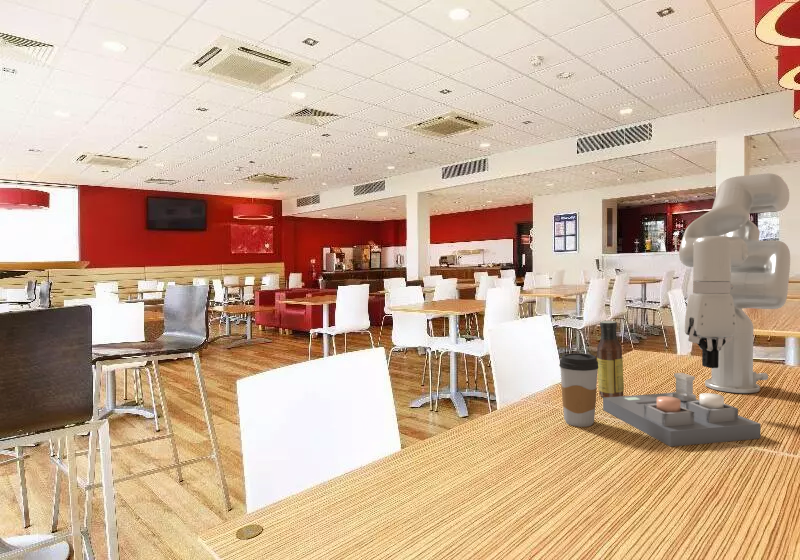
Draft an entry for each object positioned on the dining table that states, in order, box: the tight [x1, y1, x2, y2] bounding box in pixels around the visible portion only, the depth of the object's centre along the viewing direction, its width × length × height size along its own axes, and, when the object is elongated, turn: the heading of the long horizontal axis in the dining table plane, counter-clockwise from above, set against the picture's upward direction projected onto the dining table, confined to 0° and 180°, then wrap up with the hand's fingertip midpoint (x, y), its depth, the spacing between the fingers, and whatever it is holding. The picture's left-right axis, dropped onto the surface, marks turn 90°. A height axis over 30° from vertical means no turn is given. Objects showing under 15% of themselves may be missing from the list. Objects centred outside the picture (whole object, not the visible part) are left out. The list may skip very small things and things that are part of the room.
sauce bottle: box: [596, 320, 625, 398], centre depth 134 cm, size 7×6×20 cm
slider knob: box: [672, 372, 697, 401], centre depth 120 cm, size 3×4×6 cm
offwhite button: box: [698, 392, 725, 409], centre depth 108 cm, size 4×4×2 cm
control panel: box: [602, 392, 762, 447], centre depth 113 cm, size 20×24×6 cm
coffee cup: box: [558, 352, 599, 428], centre depth 115 cm, size 8×8×15 cm
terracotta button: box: [657, 396, 681, 413], centre depth 106 cm, size 4×4×2 cm
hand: (710, 366), depth 120 cm, fingers closed
